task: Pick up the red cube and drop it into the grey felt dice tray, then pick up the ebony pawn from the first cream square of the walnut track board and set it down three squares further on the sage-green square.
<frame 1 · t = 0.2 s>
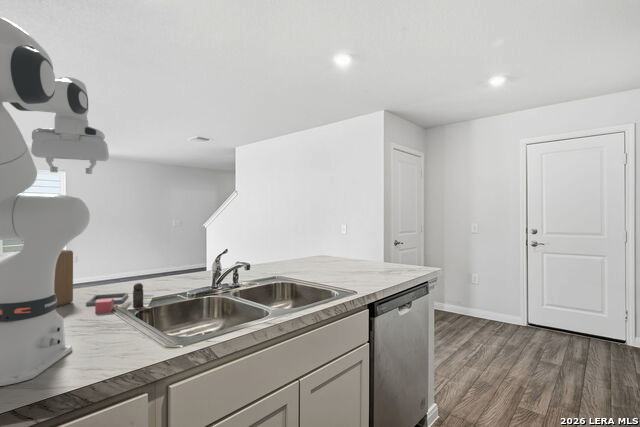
hand: (71, 173, 107), 47 cm above the worktop, fingers open, 8 cm apart
board: (141, 303, 125), on the worktop
dice tray: (108, 302, 125), on the worktop
pawn: (138, 306, 117), point 1 cm above the worktop, touching board
wooden block: (50, 305, 121), on the worktop
red cube: (104, 313, 113), on the worktop
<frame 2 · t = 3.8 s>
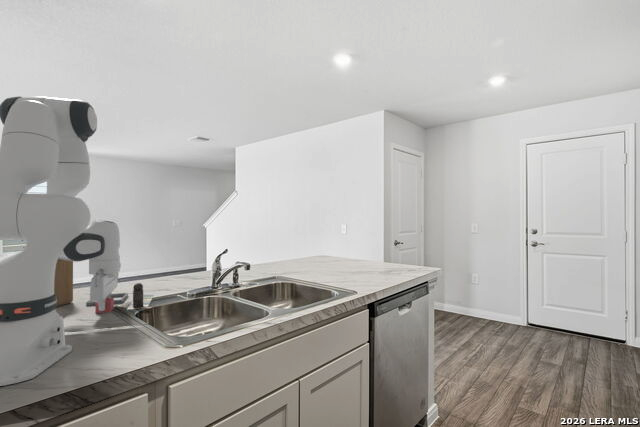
hand: (104, 307, 113), 2 cm above the worktop, fingers closed on red cube, 4 cm apart
red cube: (104, 312, 113), on the worktop, touching gripper
everything else where it was.
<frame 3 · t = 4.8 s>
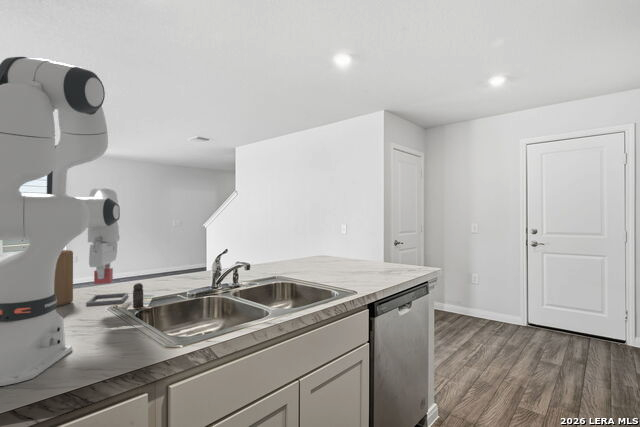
hand: (103, 277, 112), 12 cm above the worktop, fingers closed on red cube, 4 cm apart
red cube: (103, 282, 112), point 11 cm above the worktop, touching gripper
everything else where it was.
when the fingers open (9 cm above the worktop, at t = 6.0 s): red cube drops 7 cm, resting on dice tray.
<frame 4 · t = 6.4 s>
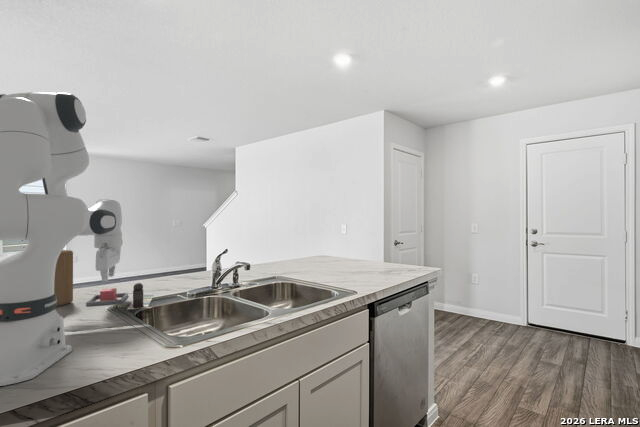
hand: (108, 278, 125), 9 cm above the worktop, fingers open, 8 cm apart
red cube: (108, 301, 125), resting on dice tray
everything else where it was.
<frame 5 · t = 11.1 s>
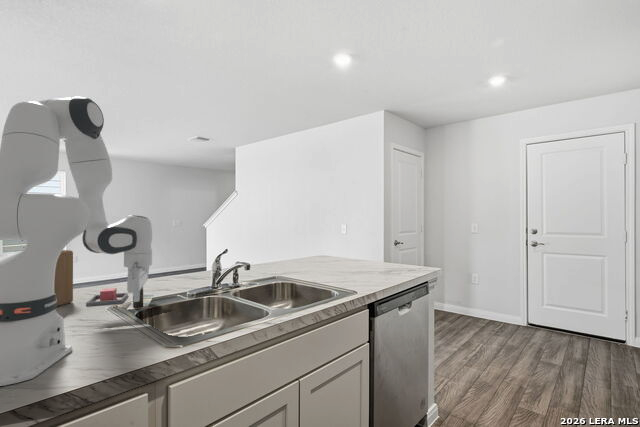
hand: (138, 299, 117), 3 cm above the worktop, fingers closed on pawn, 3 cm apart
pawn: (138, 306, 117), point 1 cm above the worktop, touching board, gripper
everything else where it was.
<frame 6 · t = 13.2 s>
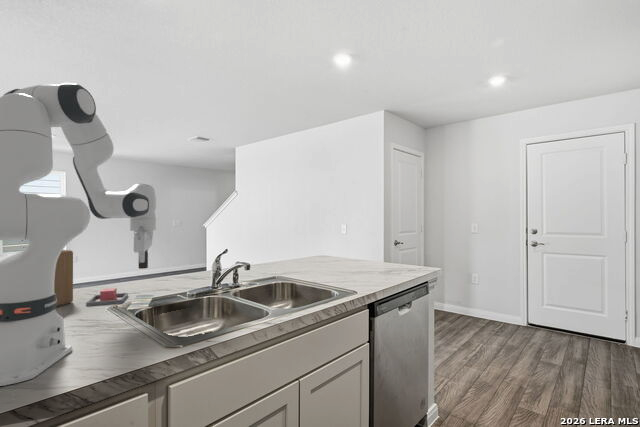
hand: (143, 261, 128), 15 cm above the worktop, fingers closed on pawn, 3 cm apart
pawn: (143, 267, 128), point 13 cm above the worktop, touching gripper
everything else where it was.
when the fingers open (4 cm above the worktop, at t = 15.3 s): pawn stays where it is, resting on board.
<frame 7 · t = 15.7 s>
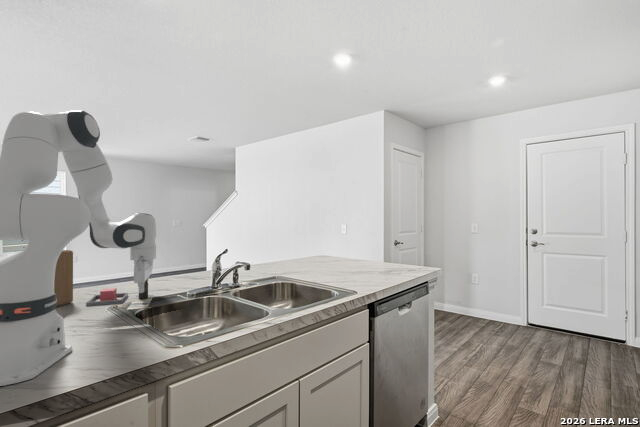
hand: (143, 290, 128), 4 cm above the worktop, fingers open, 7 cm apart
pawn: (143, 298, 128), point 1 cm above the worktop, touching board
everything else where it was.
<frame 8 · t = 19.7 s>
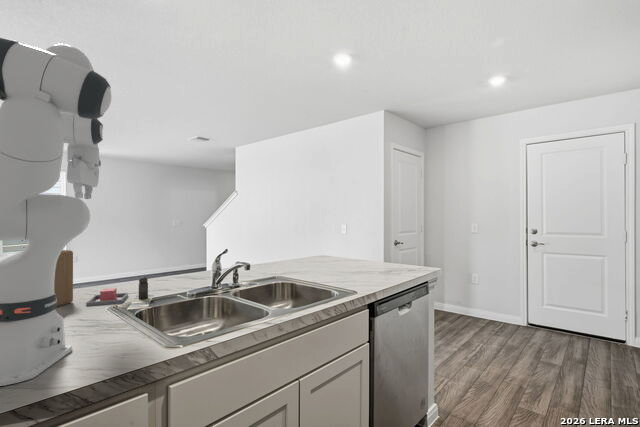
hand: (83, 198, 113), 39 cm above the worktop, fingers open, 8 cm apart
nothing on the worktop moved.
at the end: pawn 0.0 cm from the target spot on the board, point 0.8 cm above the board's base; pawn tilted 0°; red cube inside the target area on the dice tray (0.1 cm from its centre), point 0.5 cm above the dice tray's base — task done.
